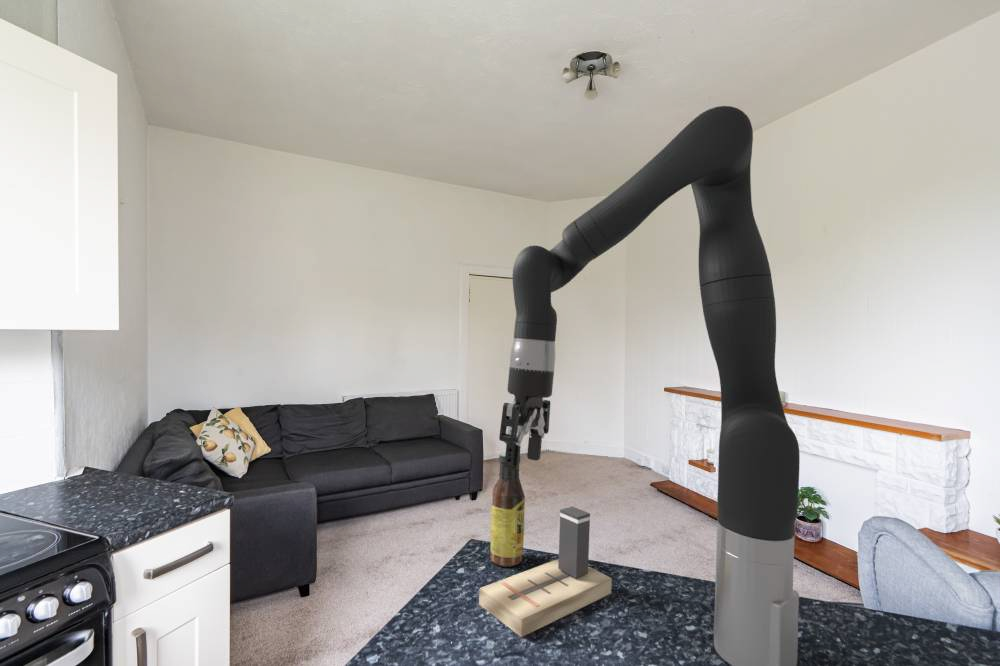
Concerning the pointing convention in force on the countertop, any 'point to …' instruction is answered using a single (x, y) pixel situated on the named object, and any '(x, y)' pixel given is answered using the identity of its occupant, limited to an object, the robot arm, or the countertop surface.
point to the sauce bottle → (507, 517)
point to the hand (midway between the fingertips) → (523, 463)
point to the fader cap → (574, 541)
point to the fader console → (541, 596)
